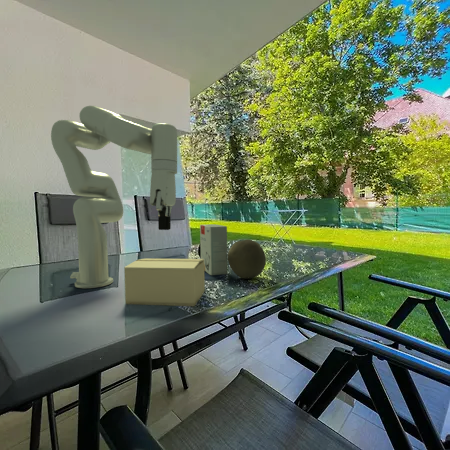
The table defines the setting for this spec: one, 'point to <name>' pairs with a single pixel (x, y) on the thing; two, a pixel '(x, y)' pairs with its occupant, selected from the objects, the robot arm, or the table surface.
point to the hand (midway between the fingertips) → (164, 229)
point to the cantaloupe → (246, 259)
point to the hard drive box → (214, 248)
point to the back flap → (172, 260)
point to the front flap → (163, 265)
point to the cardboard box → (164, 286)
